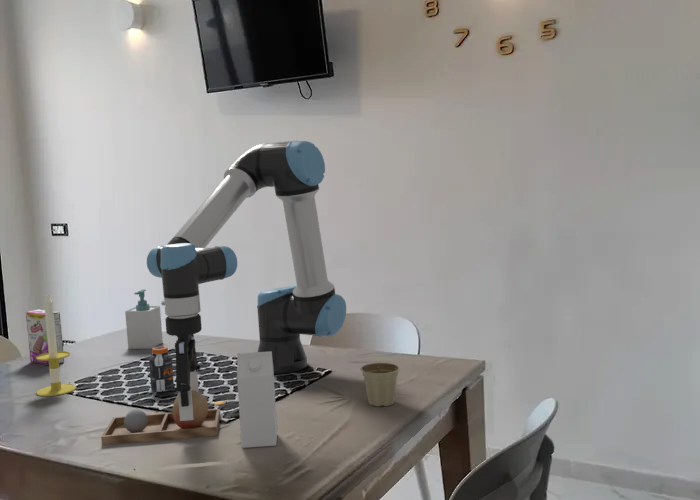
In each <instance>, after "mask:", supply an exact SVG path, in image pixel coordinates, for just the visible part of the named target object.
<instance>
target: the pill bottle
mask: <svg viewBox="0 0 700 500" xmlns="http://www.w3.org/2000/svg"><path fill="white" fill-rule="evenodd" d="M151 353H152V355H151V356H150V357H149V359H148V364H149V377H150V378H149V379H150V380H149V381H150V389H151V391H152V392H155V391H156V392H157V393H158V392H159V393H161V392H162V391H163V392H167V391H171V390H172V389H174V388H175V384H174V382H175V381H174V380H175V379H174V370H173V369H174V367H173V356H172V355H171V354H169V350H168V347H167V346H164V345H163V346H161V345H158V346H156V347H154V348H152V349H151Z"/></svg>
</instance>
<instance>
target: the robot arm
mask: <svg viewBox="0 0 700 500" xmlns="http://www.w3.org/2000/svg"><path fill="white" fill-rule="evenodd" d="M325 173H326V165H325V160H324V156H323V154H322V152H321V150H320V148H318V147H317V146H316V145H315V143H312V142H310V141H308V140H297V139H296V140H288V141H279V142H267V143H260V144H257V145H255V146H253V147H251V148H250V149H248V150H246V151H245V152H244V153H243V154H241V155H240V156H239V157H238V158H237V159H235V161H234V162H233V163H231V165H230V166H229V167H228V168H227V169H226V170H225V171H224V173H223V179H222V180H221V182H220V183H219V184H218V185H217V186H216V188H215V189H214V190H213V191H212V192H211V193H210V194H209V196H208V197H207V198H206V199H205V200H204V202H203V203H202V204H201V205H200V206H199V207H198V208H197V209H196V211H195V212H194V213H192V216H191V217H190V218H189V219H188V220H187V221H186V222H185V223H184V224H183V226H182V227H181V228H180V229H179V230H178V232H176V234H175V235H173V237H172V238H171V239H170V240H169V242H168V243H167V244H165V245H161V246H155V247H154V248H152V249H150V251H148V254H147V257H146V267H147V270H148V271H149V273H150V274H151V275H152V276H154V277H156V278H160V279H161V281H162V292H163V300H162V301H161V303H160V304H161V305H162V306H165V307H164V314H165V315H166V317H165V318H164V319H165V330H166V331H165V332H166V334H167V335H168V336H173V337H174V336H175V337H177V339H176V342H175V343H174V350H175V378H176V379H175V382H176V385H175V387H173V393H177V396H178V400H179V413H180V421H186V420H193V405H192V392H191V390H194V391H197V392H199V393H200V391H199V390H200V389H199V379H198V371H200V370H201V365H200V364H198V357H197V352H196V351H197V350H196V340H195V336H194V335H195V334H199V333H200V332H201V331H202V329H203V327H202V317H201V314H200V312H201V299H200V297H201V296H200V291H199V290H200V286H199V285H201V284H204V283H205V284H206V283H209V282H214V281H221V280H224V279H228V278H229V277H232V276H233V275H234V274H235V272H236V271H237V269H238V258H237V255H236V252H235V251H234V250H233V248H232V249H231V247H229V246H224V245H221V246H218V245H217V246H214V247H207V246H208V245H209V244H210V242H211V241H212V240H213V239H214V238H215V237H216V236H217V234H218V233H219V232H220V230H221V229H222V228H223V227H224V225H226V223H227V222H228V221H229V220H230V218H231V217H232V216H233V214H234V213H235V212H236V211H237V210H238V208H239V207H240V206H241V205H242V204H243V202H244V201H245V200H246V199H247V198H251V197H253V196H254V195H255V194H256V193H257V192H258V191H259V190H261V189H263V188H268V187H270V188H272V187H273V188H274V191H275V192H274V193H275V196H276V197H277V198H278V199H280V201H282V205H283V211H284V216H285V221H286V222H285V224H286V228H287V229H286V230H287V235H288V241H289V247H290V253H291V259H292V262H293V270H294V276H295V281H296V286H295V285H290V286H281V287H276V288H270V289H266V290H265V289H264V290H263V291H260V292H259V293H258V295H257V306H256V308H257V320H258V331H259V332H258V334H259V345H258V348H257V351H256V352H270V351H272V360H273V371H274V374H286V373H287V374H289V373H294V372H298V371H301V370H303V369H306V367H307V366H308V356H307V354H306V352H305V348H304V347H303V344H302V341H301V335H306V336H315V337H318V338H319V337H320V338H321V337H332V336H335V335H336V334H338V333H339V331H340V330H341V329H342V328H343V325H344V323H345V321H346V315H347V303H346V300H345V298H344V297H343V296H342V295H340V294H337V293H336V288H335V284H334V283H333V282H331V281H329V280H328V273H327V267H326V261H325V256H324V255H325V254H324V248H323V241H322V237H321V236H322V235H321V230H320V228H321V227H320V222H319V216H318V211H317V204H316V199H315V196H316V195H317V193H318V192H319V190H320V185H319V184H320V183H322V181H323V180H324V178H325V175H324V174H325Z"/></svg>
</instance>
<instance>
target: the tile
mask: <svg viewBox="0 0 700 500" xmlns="http://www.w3.org/2000/svg"><path fill="white" fill-rule="evenodd" d="M225 404H227V402H226V401H224V400H220V401H219V400H218V401H216V402H213V405H215V406H222V405H225Z"/></svg>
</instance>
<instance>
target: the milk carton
mask: <svg viewBox="0 0 700 500" xmlns="http://www.w3.org/2000/svg"><path fill="white" fill-rule="evenodd" d="M236 356H237V357H236V359H237V361H236V362H237V363H236V364H237V365H236V366H237V368H236V381H237V393H238V394H237V395H238V397H237V398H238V408H239V409H238V411H239V427H240V428H239V429H240V431H239V432H240V444H241V448H242V449H247V448H258V447H259V448H260V447H272V446H273V447H274V446H277V439H278V438H277V436H278V428H277V427H278V426H277V410H276V409H277V408H276V406H277V405H276V395H275V394H276V392H275V390H276V389H275V375H274V371H273V360H272V351H270V352H257V351H255V352H244V353H241V352H240V353H239V352H238V353H237V355H236Z"/></svg>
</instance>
